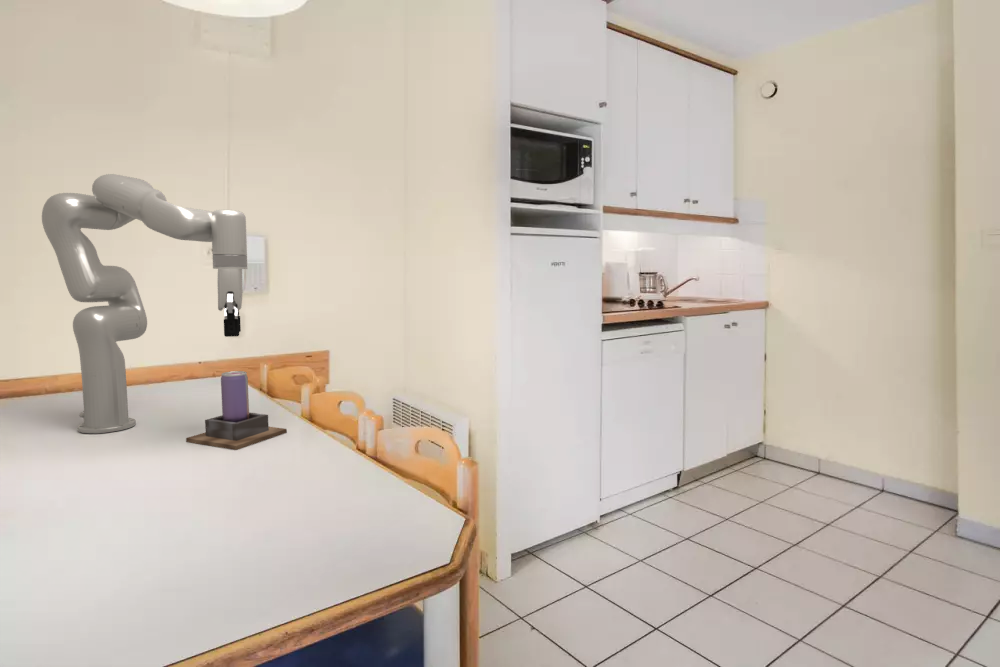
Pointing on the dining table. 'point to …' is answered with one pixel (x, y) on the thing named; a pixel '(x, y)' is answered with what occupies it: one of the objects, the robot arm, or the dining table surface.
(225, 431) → the can holder
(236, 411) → the beverage can
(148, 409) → the dining table surface
